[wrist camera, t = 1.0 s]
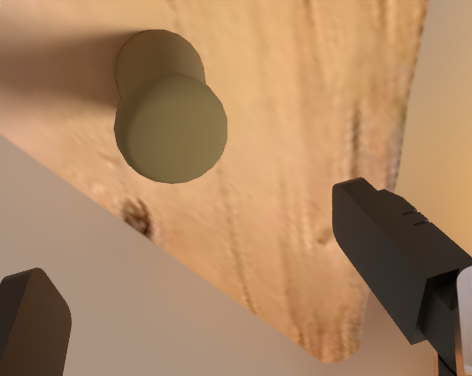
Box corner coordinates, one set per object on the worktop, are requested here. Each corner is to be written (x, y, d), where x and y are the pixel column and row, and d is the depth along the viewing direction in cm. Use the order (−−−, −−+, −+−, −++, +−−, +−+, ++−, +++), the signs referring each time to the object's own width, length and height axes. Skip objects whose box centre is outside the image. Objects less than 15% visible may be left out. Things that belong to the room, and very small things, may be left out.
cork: (184, 130, 26) (209, 216, 17) (103, 99, 24) (82, 182, 15) (218, 54, 24) (268, 109, 15) (132, 11, 21) (129, 46, 12)
